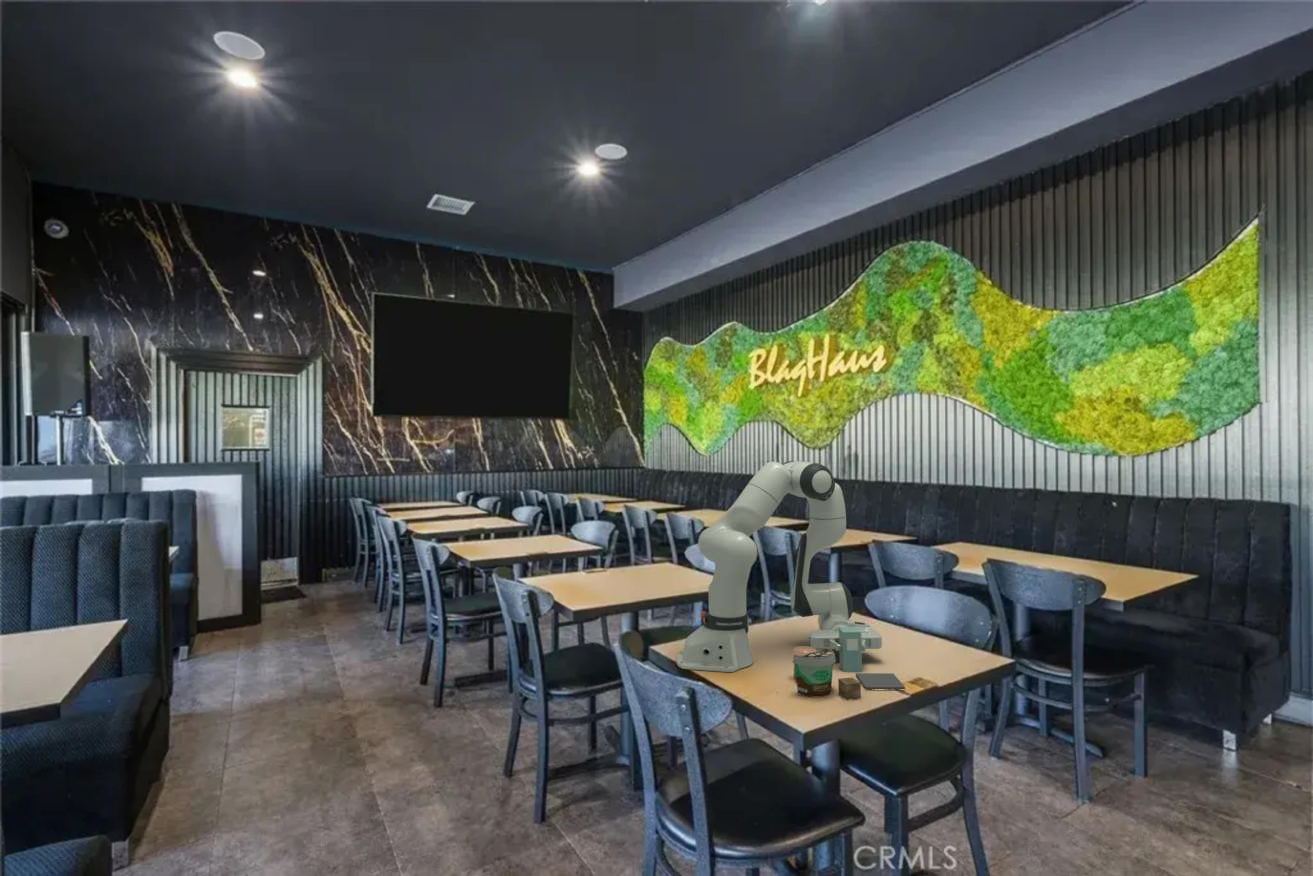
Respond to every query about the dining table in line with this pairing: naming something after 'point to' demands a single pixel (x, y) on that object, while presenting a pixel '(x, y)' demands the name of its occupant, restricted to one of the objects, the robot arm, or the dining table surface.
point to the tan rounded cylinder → (802, 653)
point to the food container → (814, 673)
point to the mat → (879, 681)
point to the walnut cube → (849, 688)
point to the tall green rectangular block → (850, 649)
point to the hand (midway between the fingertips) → (851, 648)
